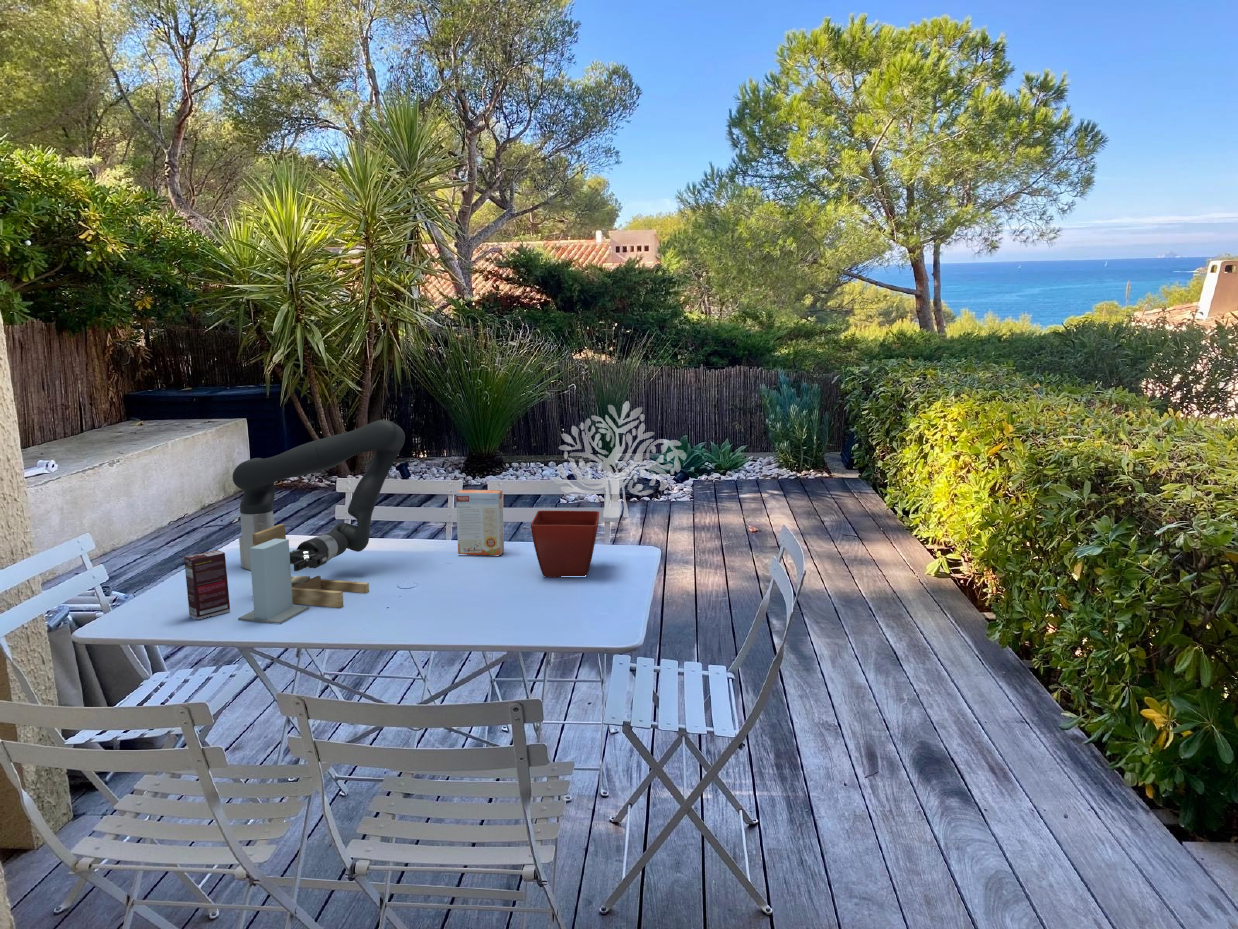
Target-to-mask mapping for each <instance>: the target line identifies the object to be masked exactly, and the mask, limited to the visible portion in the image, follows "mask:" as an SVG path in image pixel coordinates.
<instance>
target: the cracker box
mask: <svg viewBox="0 0 1238 929" xmlns="http://www.w3.org/2000/svg"><path fill="white" fill-rule="evenodd" d="M455 500H456V527H457V528H456V529H457V530H456V531H457V532H456V533H457V554H467V555H501V556H502V555H503V554H504V552H505V542H504V541H505V540H504V537H505V534H504V507H503V506H504V505H503V504H504V503H503V502H504V500H503V490H501V489H460V490H458V491H457V492H456V493H455ZM502 553H503V554H502Z"/></svg>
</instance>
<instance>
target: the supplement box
mask: <svg viewBox="0 0 1238 929" xmlns="http://www.w3.org/2000/svg"><path fill="white" fill-rule="evenodd" d="M183 558H184V559H183V561H184V570H185V581H186V582H185V583H186V592H187V604H188V614H189V617H190V618H192V617H193V618H192V619H194V618H195V619H194V620H196V619H201V620H204V619H203V618H205V619H207V618H206V617H208V618H210V617H209V616H212V617H216V616H218V615H224V614H226V613H227V614H228V613H229V612H230V611H231V606H230V596H229V594H230V593H229V582H228V572H227V562H226V552H224V551H221V550H217V549H216V550H211V551H204V552H200V553H197V554H191V555H186V556H184V557H183Z"/></svg>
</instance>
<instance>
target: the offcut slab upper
mask: <svg viewBox="0 0 1238 929" xmlns="http://www.w3.org/2000/svg"><path fill="white" fill-rule="evenodd" d="M293 577H294V578H293V579H292V580H291V585H292V587H295V586H297V585H299V584H301V583H303V582H306V581H308V580H310V578H311V575H295V576H293Z"/></svg>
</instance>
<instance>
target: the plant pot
mask: <svg viewBox="0 0 1238 929" xmlns="http://www.w3.org/2000/svg"><path fill="white" fill-rule="evenodd" d="M599 519H600V511H597V510H537V512H536V514H535V516H534V517H533V520H532V521H531V523H530V528H531V536H532V542H533V547H534V549H535V550H534V551H535V555H536V558H537V561H538V565H539V568H540V571H541V574H542V576H543V577H544V576H545V577H544V578H562V577H561V576H585V575H587V576H588V574H589V570H590V567H591V564H592V559H593V556H594V549H595V545H596V544H595V543H596V539H597V533H598V527H599V521H600V520H599Z"/></svg>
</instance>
